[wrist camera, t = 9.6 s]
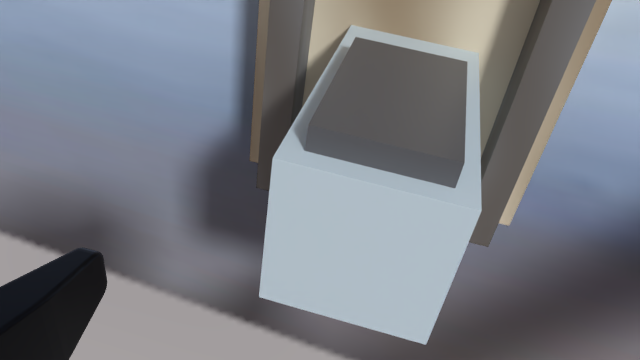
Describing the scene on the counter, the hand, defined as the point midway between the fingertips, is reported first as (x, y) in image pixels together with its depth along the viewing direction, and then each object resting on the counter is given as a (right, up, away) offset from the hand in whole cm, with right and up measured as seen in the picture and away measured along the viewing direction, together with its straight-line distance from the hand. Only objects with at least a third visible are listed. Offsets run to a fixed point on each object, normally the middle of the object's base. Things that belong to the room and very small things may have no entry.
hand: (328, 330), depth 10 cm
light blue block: (+2, +5, +8) cm, 10 cm away
